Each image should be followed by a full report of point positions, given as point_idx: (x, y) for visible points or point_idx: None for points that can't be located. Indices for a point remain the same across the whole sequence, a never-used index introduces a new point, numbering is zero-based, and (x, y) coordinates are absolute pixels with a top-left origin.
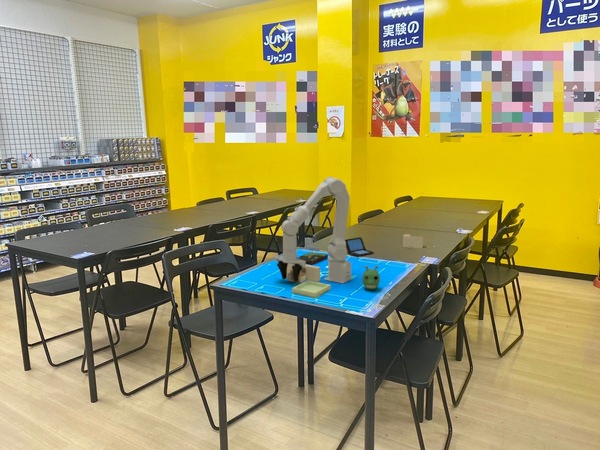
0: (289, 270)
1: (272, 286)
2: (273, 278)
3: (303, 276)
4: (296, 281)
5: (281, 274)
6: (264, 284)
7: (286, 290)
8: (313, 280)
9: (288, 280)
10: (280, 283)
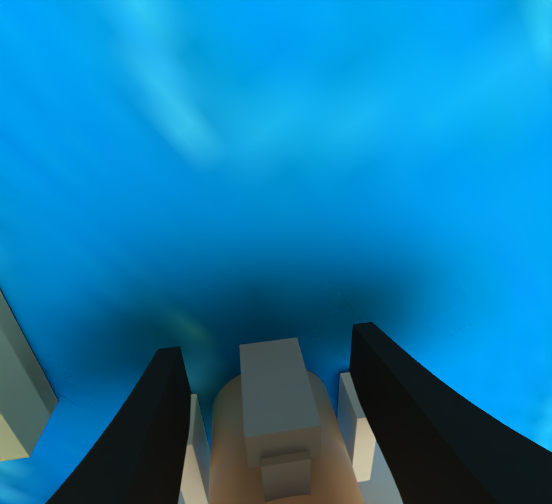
0: None
1: (392, 86)
2: (511, 324)
3: (193, 492)
4: (227, 391)
5: (415, 363)
6: (544, 87)
7: (66, 60)
8: None
9: (282, 339)
10: (359, 256)
